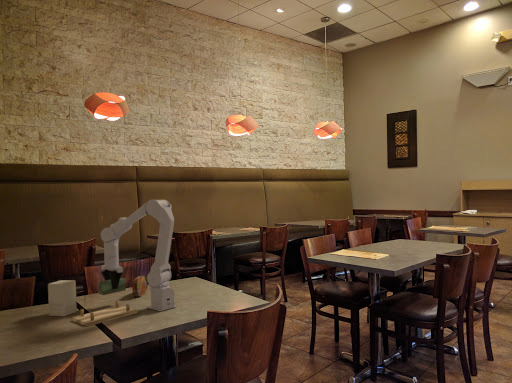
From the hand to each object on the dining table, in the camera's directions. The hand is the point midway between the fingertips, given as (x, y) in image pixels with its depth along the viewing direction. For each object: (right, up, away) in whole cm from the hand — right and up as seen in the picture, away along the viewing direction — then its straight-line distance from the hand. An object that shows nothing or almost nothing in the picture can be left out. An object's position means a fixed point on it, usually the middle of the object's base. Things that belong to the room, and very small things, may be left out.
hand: (112, 288), depth 166 cm
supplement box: (-16, -8, -10) cm, 20 cm away
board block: (0, -2, 0) cm, 2 cm away
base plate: (+3, -7, -16) cm, 18 cm away
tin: (+6, -8, +19) cm, 21 cm away
